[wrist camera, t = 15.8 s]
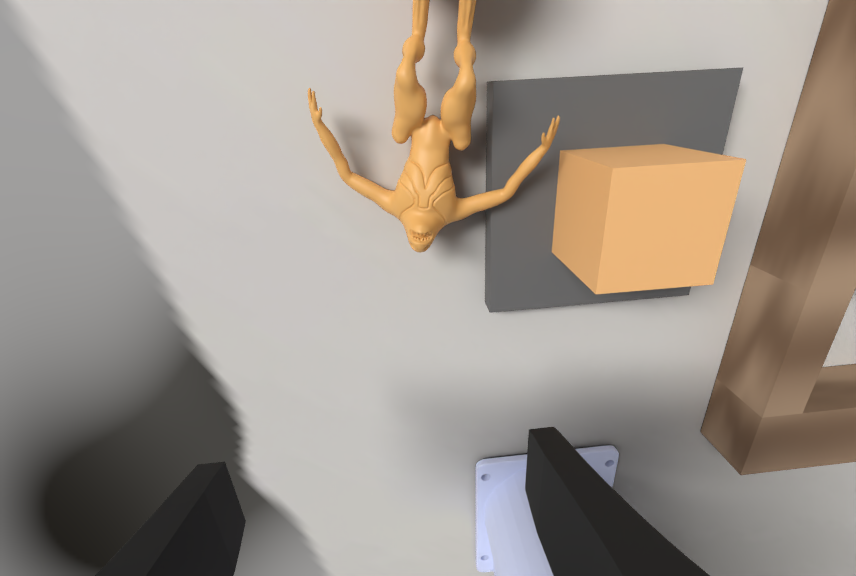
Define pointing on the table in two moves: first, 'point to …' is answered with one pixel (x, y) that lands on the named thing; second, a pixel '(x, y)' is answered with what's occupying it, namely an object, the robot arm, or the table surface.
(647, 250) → the block
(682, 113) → the mat
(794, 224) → the puzzle board
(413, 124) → the figurine
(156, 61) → the table surface
